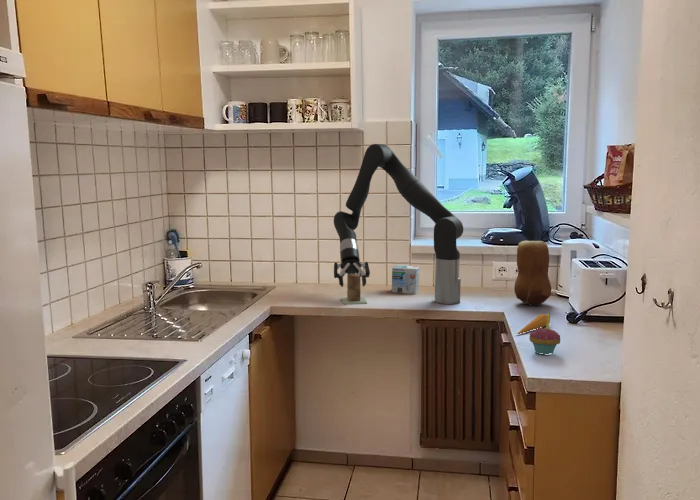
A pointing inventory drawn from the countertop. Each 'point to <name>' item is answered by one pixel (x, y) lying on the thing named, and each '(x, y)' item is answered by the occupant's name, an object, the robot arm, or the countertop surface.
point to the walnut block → (353, 287)
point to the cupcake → (545, 339)
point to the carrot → (535, 323)
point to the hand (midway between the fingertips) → (353, 285)
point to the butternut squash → (532, 272)
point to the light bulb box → (405, 279)
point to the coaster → (362, 301)
